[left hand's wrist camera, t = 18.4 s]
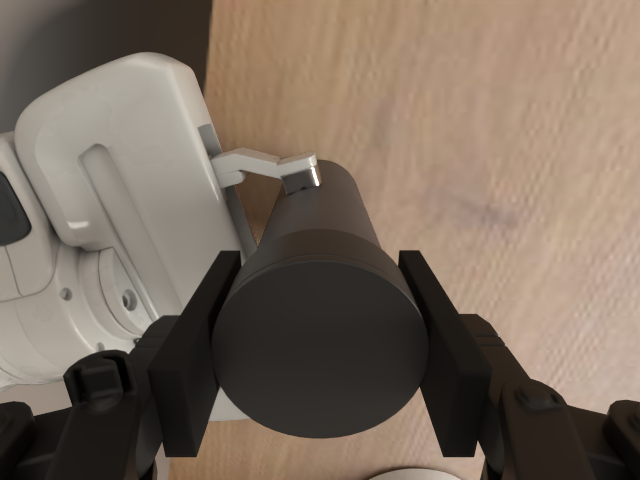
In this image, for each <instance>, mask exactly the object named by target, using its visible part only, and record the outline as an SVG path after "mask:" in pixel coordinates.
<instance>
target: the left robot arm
mask: <svg viewBox="0 0 640 480" xmlns="http://www.w3.org/2000/svg"><path fill="white" fill-rule="evenodd" d="M241 267H242V265H241V253H240V250H221V251H220V252H219V254H218V255H217V257H216V259H215V260H214V262H213V263H212V265H211V267H210V268H209V270H208V271H207V273H206V275H205V276H204V278H203V279H202V281H201V283H200V284H199V286H198V288H197V289H196V291H195V292H194V294H193V296H192V297H191V299H190V300H189V302H188V304H187V305H186V307H185V308H184V310H183V312H182V313H181V315H163V316H162V317H160V318H159V319H157V320H156V321H155V322H153V323H152V324H150V325H149V327H148V328H147V330H146V331H145V332H144V334H143V335H142V338H140V339H139V341H138V342H137V343H136V345H135V348H133V349H132V350H131V352H130V353H129V354H128V353H127V352H125V351H121V350H117V349H114V350H103V351H100V352H96V353H92V354H90V355H88V356H86V357H84V358H82V359H80V360H78V361H77V362H75V363H74V364H73V365H71V366H70V367H69V368H68V369H67V371H66V372H65V373H64V375H63V379H64V382H65V385H66V388H67V391H68V394H69V397H70V400H71V403H72V407H69V408H66V409H62V410H58V411H53V412H50V413H45V414H41V415H37V416H33V413H32V411H31V408H30V407H29V406H28V405H27V404H25V403H24V402H15V401H13V402H7V403H2V404H0V480H157V466H156V461H155V456H156V454H157V452H158V449H159V447H160V445H161V443H162V442H163V447H164V451H165V456H166V457H197V454H198V451H199V448H200V445H201V442H202V439H203V436H204V433H205V430H206V427H207V424H208V421H209V418H210V415H211V412H212V409H213V406H214V403H215V400H216V397H217V394H218V391H219V388H220V385H219V383H218V380H217V378H216V376H215V373H214V369H213V363H212V356H211V337H212V332H213V328H214V325H215V322H216V320H217V317H218V315H219V313H220V311H221V308H222V306H223V304H224V302H225V299H226V297H227V295H228V293H229V291H230V288H231V286H232V284H233V282H234V280H235V277H236V276H237V274H238V272H239V270H240V269H241ZM398 267H399V269H400V270H401V272H402V274H403V276H404V278H405V280H406V282H407V284H408V286H409V289H410V291H411V293H412V295H413V297H414V300H415V302H416V304H417V306H418V308H419V311H420V313H421V315H422V317H423V320H424V323H425V325H426V328H427V332H428V338H429V354H428V362H427V368H426V372H425V376H424V378H423V380H422V382H421V384H420V389H421V392H422V395H423V398H424V401H425V404H426V407H427V410H428V413H429V416H430V419H431V422H432V425H433V428H434V431H435V434H436V436H437V439H438V442H439V445H440V448H441V451H442V454H443V457H474V455H475V450H476V446H477V441H479V444H480V446H481V448H482V450H483V453H484V455H485V461H484V465H483V470H482V474H481V478H480V480H640V402H636V401H631V400H620V401H615V402H614V403H613V404H611V405H610V407H609V410H608V412H607V415H606V414H602V413H597V412H593V411H589V410H584V409H580V408H576V407H573V406H569V405H567V404H566V402H565V400H564V399H563V397H562V396H561V395H560V394H558V393H557V392H556V391H555V390H554V389H553V388H551V387H549V386H547V385H545V384H544V383H542V382H539V381H536V380H533V379H530V378H529V376H528V375H527V373H526V372H525V371H524V369H523V368H522V367H521V365H520V364H519V363H518V361H517V360H516V358H515V357H514V356H513V354H512V353H511V352H510V350H509V349H508V348H507V347H505V343H504V342H503V341H502V339H501V338H500V337H498V334H497V332H496V331H495V330H494V328H493V327H492V326H491V324H490V323H488V322H487V321H486V320H484V319H483V318H481V317H480V316H479V315H477V314H458V312H457V310H456V309H455V307H454V306H453V304H452V302H451V301H450V299H449V298H448V296H447V294H446V293H445V291H444V290H443V288H442V286H441V285H440V283H439V281H438V280H437V278H436V277H435V275H434V273H433V272H432V270H431V269H430V267H429V265H428V264H427V262H426V261H425V259H424V257H423V256H422V254H421V253H420V251H419V250H400V251H399V262H398Z"/></svg>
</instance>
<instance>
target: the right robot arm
mask: <svg viewBox="0 0 640 480" xmlns="http://www.w3.org/2000/svg"><path fill="white" fill-rule="evenodd" d="M250 172H252V173H256V174H261V175H265V176H269V177H274V178H278V179H282V182H283V185H284V188H285V191H286V194H291V193H295V192H297V191H300V190H301V189H302V188H303V187H305V188H313V187H316V186H319V185H320V184H322V181H321V180H322V179H321V175H320V171H319V167H318V163H317V159H316V156H315V152H314V151H311V152H306V153H302V154H299V155H295V156H291V157H288V158H284V159H280V157H278V156H274V155H270V154H267V153H263V152H259V151H255V150H252V149H248V148H244V147H241V148H238V149H234V150H231V151H227V152H224V153H223V151H222V148H221V145H220V142H219V140H218V137H217V134H216V132H215V129H214V126H213V123H212V121H211V118H210V115H209V112H208V110H207V107H206V104H205V102H204V99H203V96H202V94H201V91H200V88H199V85H198V82H197V80H196V77H195V74H194V72H193V71H192V69H191V68H190V67H188V66H187V65H185V64H183V63H181V62H179V61H177V60H176V59H174V58H171V57H169V56H166V55H163V54H159V53H151V52H143V53H136V54H132V55H129V56H126V57H122V58H119V59H117V60H114V61H112V62H109V63H106V64H104V65H101V66H99V67H97V68H94V69H92V70H90V71H87V72H85V73H83V74H81V75H79V76H77V77H75V78H72V79H70V80H68V81H66V82H64V83H63V84H61V85H59V86H57V87H55V88H53V89H52V90H50V91H48V92H46V93H44V94H43V95H41V96H40V97H38V98H37V99H35V100H34V101H33V102H32V103H30V104H29V105H28V106H27V107H26V108H25V109H24V111H23V112H22V113H21V115H20V116H19V119H18V121H17V123H16V127H15V130H14V131H9V132H4V133H0V393H2V392H4V391H6V390H8V389H10V388H12V387H14V386H16V385H42V384H49V383H53V382H58V381H62V380H64V379H63V375H64V373H65V372H66V371H67V369H68V368H69V367H70V366H71V365H73V364H74V363H75V362H77V361H78V360H80V359H82V358H84V357H86V356H88V355H90V354H92V353H96V352H100V351H103V350H114V349H117V350H121V351H125V352H127V353H128V354H129V353H130V352H131V350H132V349H133V348H135V345H136V343H137V342H138V341H139V339H140V338H142V335H143V334H144V332H145V331H146V330H147V328H148V327H149V325H150V324H152V323H153V322H155V321H156V320H157V319H159V318H160V317H162V316H163V315H181V313H182V312H183V310H184V308H185V307H186V305H187V304H188V302H189V300H190V299H191V297H192V296H193V294H194V292H195V291H196V289H197V288H198V286H199V284H200V283H201V281H202V279H203V278H204V276H205V275H206V273H207V271H208V270H209V268H210V267H211V265H212V263H213V262H214V260H215V259H216V257H217V255H218V254H219V252H220V251H221V250H240V253H241V265H242V266H243V265H244V263H245V262H246V261H247V259H248V258H249V257H250V256H251V255H253V254H254V253H255V252H256V251H257V248H258V246H257V243H256V241H255V238H254V235H253V232H252V230H251V227H250V224H249V222H248V219H247V216H246V213H245V211H244V208H243V205H242V202H241V200H240V197H239V194H238V192H237V189H236V186H235V184H239V183H242V182H243V180H244V179H245V178H246V177H247V176H248V174H249V173H250ZM243 419H251V418H250V417H248V416H247V415H245V414H244V413H243V412H242V411H240V410H239V409H238V408H237V407H236V406H235V405H234V404H233V403H232V402H231V401H230V399H229V398H228V397H227V396H226V394H225V393H224V391H223V390H222V388H221V387H220V388H219V391H218V394H217V397H216V400H215V403H214V406H213V409H212V412H211V415H210V418H209V421H232V420H243ZM369 480H461V479H459V478H457V477H455V476H453V475H451V474H448V473H445V472H441V471H437V470H431V469H402V470H396V471H391V472H387V473H384V474H381V475H378V476H375V477H373V478H371V479H369Z"/></svg>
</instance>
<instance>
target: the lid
mask: <svg viewBox="0 0 640 480" xmlns="http://www.w3.org/2000/svg"><path fill="white" fill-rule="evenodd" d="M428 354H429V338H428V332H427V328H426V325H425V323H424V320H423V317H422V315H421V313H420V311H419V308H418V306H417V304H416V302H415V300H414V297H413V295H412V293H411V291H410V289H409V286H408V284H407V282H406V280H405V278H404V276H403V274H402V272H401V270H400V269H399V267H398V266H397V265H396V263H395V262H394V261H393V260H392V259H391V258H390V257H389V256H388V255H387V254H386V253H385V252H384V251H383V250H382V249H380V248H379V247H378V246H376V245H375V244H373V243H371V242H370V241H368V240H366V239H364V238H362V237H359V236H357V235H354V234H351V233H348V232H344V231H340V230H332V229H308V230H300V231H296V232H292V233H288V234H286V235H283V236H281V237H278V238H276V239H274V240H272V241H270V242H268V243H267V244H265V245H264V246H262V247H261V248H260V249H258V250H257V251H256V252H255V253H254V254H253V255H251V256H250V257H249V258H248V259H247V261H246V262H245V263H244V265H243V266H242V267H241V269H240V270H239V272H238V274H237V276H236V277H235V280H234V282H233V284H232V286H231V288H230V291H229V293H228V295H227V297H226V299H225V302H224V304H223V306H222V308H221V311H220V313H219V315H218V317H217V320H216V322H215V325H214V328H213V332H212V337H211V356H212V363H213V369H214V373H215V376H216V378H217V380H218V383H219V385H220V387H221V388H222V390H223V391H224V393H225V394H226V396H227V397H228V398H229V399H230V401H231V402H232V403H233V404H234V405H235V406H236V407H237V408H238V409H239V410H240V411H242V412H243V413H244V414H245V415H247V416H248V417H250V418H251V419H252V420H254V421H256V422H258V423H259V424H261V425H263V426H265V427H267V428H270V429H272V430H275V431H278V432H281V433H284V434H287V435H292V436H297V437H304V438H336V437H342V436H348V435H352V434H356V433H359V432H362V431H365V430H368V429H370V428H372V427H375V426H377V425H379V424H380V423H382V422H384V421H386V420H387V419H389V418H390V417H392V416H393V415H395V414H396V413H397V412H398V411H399V410H401V409H402V408H403V407H404V406H405V405H406V404H407V403H408V402H409V400H410V399H411V398H412V397H413V396H414V394H415V393H416V391H417V390H418V388H419V386H420V384H421V382H422V380H423V378H424V376H425V372H426V368H427V362H428Z"/></svg>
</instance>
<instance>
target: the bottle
mask: <svg viewBox="0 0 640 480" xmlns="http://www.w3.org/2000/svg"><path fill="white" fill-rule="evenodd" d="M317 163H318V167H319V171H320V175H321V179H322V180H321V181H322V184H320V185H319V186H316V187H313V188H305V187H303V188H302V189H301V190H300V191H297V192H295V193H291V194H286V191H285V188H284V185H282V187H281V190H280V192H279V195H278V197H277V200H276V203H275V205H274V208H273V210H272V213H271V215H270V218H269V220H268V223H267V225H266V228H265V230H264V233H263V235H262V238H261V241H260V243H259V246H258V248H257V250H258V249H260V248H261V247H262V246H264V245H265V244H267V243H268V242H270V241H272V240H274V239H276V238H278V237H281V236H283V235H286V234H288V233H292V232H296V231H300V230H308V229H332V230H340V231H344V232H348V233H351V234H354V235H357V236H359V237H362V238H364V239H366V240H368V241H370V242H371V243H373V244H375V245H376V246H378V247H379V248H380V249H381V246H380V244H379V241H378V239H377V236H376V234H375V231H374V229H373V226H372V224H371V221H370V218H369V216H368V213H367V211H366V208H365V206H364V203H363V201H362V198H361V196H360V193H359V190H358V188H357V185H356V183H355V181H354V179H353V178H352V176H351V175H350V174H349V173H348V171H347V170H345V169H344V168H343V167H341V166H340V165H338V164H336V163H334V162H330V161H326V160H317Z"/></svg>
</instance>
